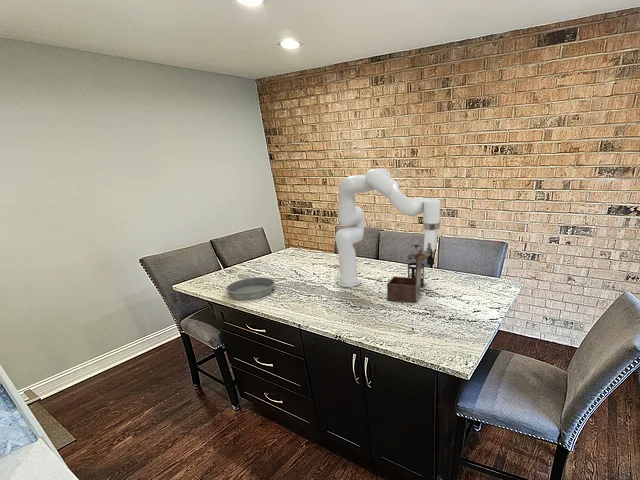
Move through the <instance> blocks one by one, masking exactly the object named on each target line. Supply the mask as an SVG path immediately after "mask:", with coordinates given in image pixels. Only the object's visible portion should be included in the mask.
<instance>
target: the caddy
mask: <svg viewBox="0 0 640 480" xmlns="http://www.w3.org/2000/svg"><path fill="white" fill-rule="evenodd" d="M421 289H422V287H421V279H420V281H419V282H418V284H417V285H415V278H411V277H409V278H408V276H407V277H406V276H393V277H391V279H390V280H389V281H388V282H387V283H386V291H387V292H386V293H387V294H386V295H387V301H393V302H401V303H402V302H403V303H413V304H414V303H415V304H416V303H417V301H418V300H419V298H420V296H421V291H422V290H421Z"/></svg>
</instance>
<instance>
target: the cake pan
mask: <svg viewBox="0 0 640 480" xmlns="http://www.w3.org/2000/svg"><path fill="white" fill-rule="evenodd" d="M275 284H276V281H275V280H274V279H273V278H270V277H261V276H260V277H249V278H242V279H238V280H236V281H234V282H231V283H229V284H227V286H226V287H225V290H226V292H228V293H229V295H230V297H231V298H232V299H235V300H243V301H244V300H255V299H259V298H262V297H265V296H267V295H269V294H271V293H272V292H273V290H274V286H275Z"/></svg>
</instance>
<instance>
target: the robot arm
mask: <svg viewBox="0 0 640 480" xmlns="http://www.w3.org/2000/svg"><path fill="white" fill-rule="evenodd" d="M373 191H376V192H378V193H379V194H381V195H382V196H383V197H385V198H387V199H388V201H389V203H390V204H391V205H392V207H394V208H395V209H396V210H397V211H399V212H400V213H402V214H403V215H405V216H408V217H414V216H417V215H418V216H419V215H421V214H423V218H422V219H423V220H422V221H423V222H422V223H423V224H422V225H423V231H424V238H423V252H424V253H425V252H426V254H427V256H428V257H427V259H426V264H427V266H434V265H435V251H436V250H437V248H438V231H440V229H441V228H440V226H441V200H440V199H439V198H427V197H421V196H418V197H413V198H410V197H408V196H407V195H405V194H404V193H402V192H401V191H400V183H399V182H398V181H396V180H395V179H394V178H392V174H391V173H390V171H389V170H388V169H386V168H383V167H381V168H371V169H369V170H368V171H367V172H366V173H365V174H359V175H358V174H357V175H349V176H346V177H344V178H342V179H341V180H340V182H339V183H338V215H337V216H338V223H339V224H340V226H342V227H343V228H340V229H339V230H337V231H336V233H335V235H334V240H335V244H336V247H337V255H338V266H339V275H336V274H335V275H334V280H335V281H338V282H337V284H338V286H339V287H342V288H352V287H356V286H357V287H358V286H359V285H360V284H361V279H360V278H358V265H357V254H356V250H355V247H354V245H355V244H357V243H360V242H361V241H362V240H363V238H364V233H365V219H366V218H365V217H366V216H365V211H364V210H363V209H362V208H361V207H360V206H357V205H356V196H355V194H363V193H368V192H373Z"/></svg>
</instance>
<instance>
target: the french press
mask: <svg viewBox="0 0 640 480" xmlns="http://www.w3.org/2000/svg"><path fill="white" fill-rule="evenodd" d="M411 247H414V249H415V250H417V249H418V248H419V247H421V245H420V244H412V245H411ZM416 254H417V253H412V254H408V255H407V257H408V261H411V260H416ZM423 257H424V256H423ZM423 262H424V258H422V276H421V288H423V287H425V264H424V263H423ZM415 269H416V261H415V262H410V263H408V264H407V278H415ZM410 270H411V272H410Z"/></svg>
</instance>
